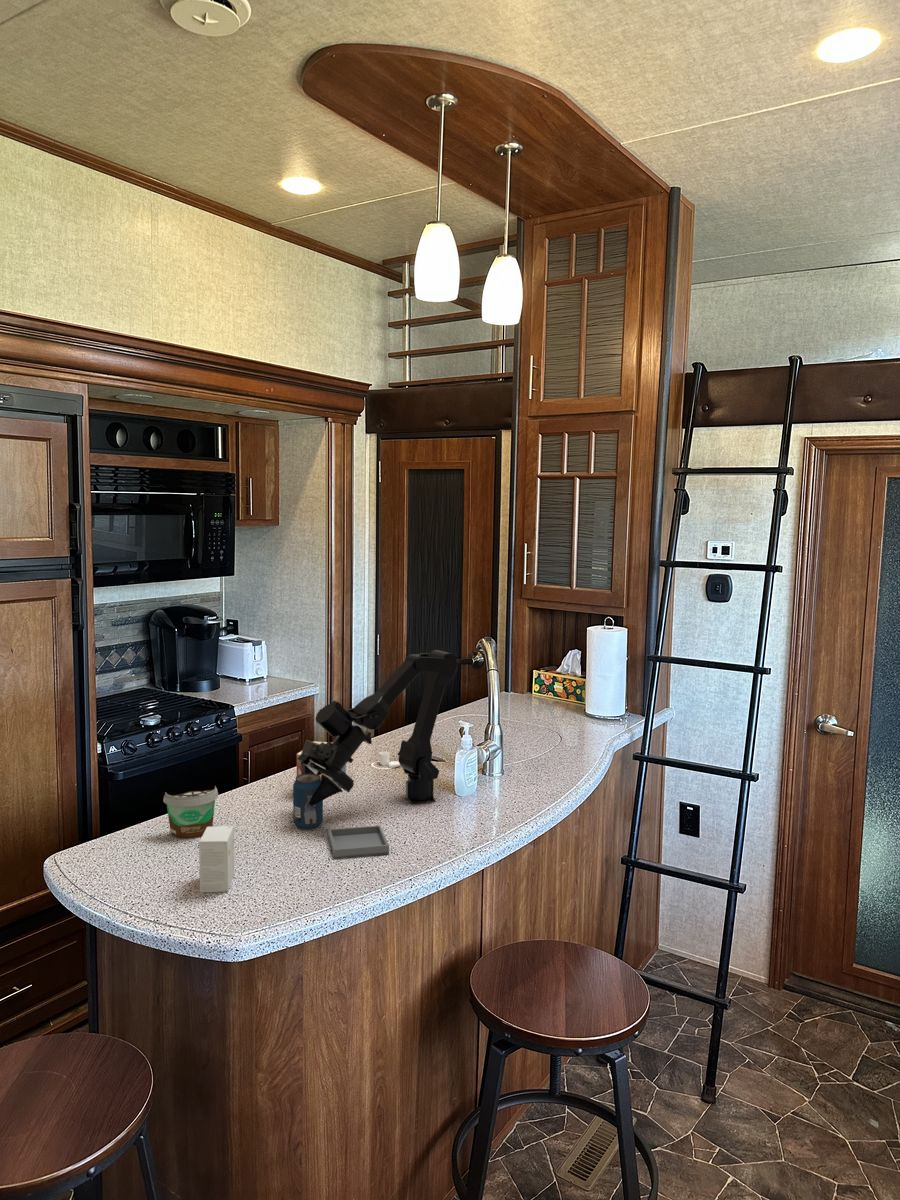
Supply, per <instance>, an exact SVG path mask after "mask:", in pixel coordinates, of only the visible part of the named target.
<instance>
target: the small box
mask: <svg viewBox="0 0 900 1200" xmlns="http://www.w3.org/2000/svg"><path fill="white" fill-rule="evenodd" d="M199 839H200V840H199V842H198V855H199V856H198V857H199V892H200V893H227V892H229V889H230V887H231V884H232V882H233V879H234V876H235V868H236V867H235V864H236V863H235V826H233V825H232V826H231V825H230V826H228V825H227V826H226V825H225V826H222V825H221V826H213V827H207V828H206V830H205V832H204V834H203V835H202V837H200V838H199Z"/></svg>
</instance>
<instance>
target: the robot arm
mask: <svg viewBox="0 0 900 1200" xmlns="http://www.w3.org/2000/svg"><path fill="white" fill-rule="evenodd" d="M458 666H459V660H458V659H457V657H456V655H455V654H453V653H451V652H447V651H443V650H440V649H439V650H438V649H435V650H434V649H433V650H431V652H428V653H417V654H414V653H410V654H408V655H406V657H405V659H404V661H403V662H402V663H400V665H399V666H398V667H397V669H396V670H395V671H394V672H393V673H392V674H391V675H390V676H389V677H388V679H386V681H385V682H384V683H383V684H382V685H381V686H380V687H379V689H378V690H376V691H375V692H374V693H373V694H370V695H368V696H367V697H365V698H363V699H362V700H361V701H359V702H358V703H357V704H356V705H355V706H354V707H352V708H349V709H345V708H344V707H343V705H342V704H341V703H340V702H339V701H336V700H333V701H332V702H331V703H329V704H326V705H324V707H322V708H320V709H319V711H318V712H317V714H316V716H315V722H316V723H317V724H318V725H319V726H320V727H321V728H323V729H324V730H325V732H327V733H328V734H329V735H330V736H331V737H335V739H334V740H333V741H332V742H331V741H328V742H327V743H326V744H325V743H323V742H324V741H321V742H322V743H321V744H318V743H315V742H316V741H315V742H314V741H312V740H309V739H306V740H305V743H304V746H303V748H302V749H301V751H302V754H301V755H300V756H299V757H298V760H299V761H300V762H301V763H300V765H301V767H302V774H317V775H320V774H322V773H323V774H324V775H323V774H322V775H321V778H320V779H321V784H320V785H319V787H318V788H317V790H316V792H315V793H314V795H313V796H312V798H311V799H310V801H309V805H311V806H313V805H315V804H317V803H319V802H321V801H322V800H323V801H325V800H326V799H327V798H330V797H332V796H334V795H337V794H338V793H343V792H344V791H346V792H347V793H350V792H351V790H352V789H353V788H354V784H355V781H354V779H352V777H350V775H348V774H347V772H346V773H345V772H344V771H343V770H342V768H343V767H344V766H345V765H347V763H350V764H352V763H353V761H354V759H353V758H352V757H353V755H354V754H355V753H356V752H357V751H358V749H359V748H360V746H361V745H362V744H363V742H364V743H366V744H368V745H372V743H373V741H372V732H369V731H368V730H377V729H379V728H380V727H381V726H382V725H383V723H385V720H386V719H387V717H388V715H389V714H390V713H389V712H390V708H391V706H392V705H393V704H394V702H395V701H396V700H397V698H399V696H400V695H401V694H402V693H403V692H404V691H405V690H406V688H408V686H409V685H410V684H411V682H413V681H414V679H415V678H416V677H417V676H418V675H419V674H420V672H424V675H425V681H426V682H425V687H424V691H423V695H422V697H421V702H420V705H419V709H418V713H417V716H416V719H415V723H414V727H413V730H412V734H411V736H410V737H409V738H408V740H407V741H406V740H404V739H403V740H402V741H401V743H400V748H399V751H398V753H397V756H398V761H399V763H400V767H401V768H402V770H403V773H404V774H406V775H407V780H406V781H405V796H406V798H407V800H408V801H409V803H410V804H420V803H421V804H422V803H423V804H424V803H434V802H436V799H435V797H434V790H435V789H434V780H436V779H438V777H439V774H440V770H439V769H438V767H436V766H435V764H433V763H432V759H433V749H432V744H431V739H432V735H433V731H434V728H435V725H436V720H437V717H438V713H439V710H440V706H441V703H442V699H443V695H444V691H445V689H446V686H448V684H449V683H450V682H451V681H452V680H453V679H454V676H455V674H456V672H457V669H458ZM354 724H357V725H354ZM361 727H363V728H366V729H368V730H365V731H364V730H363V729H362V728H361ZM325 775H326V776H328V777H326V776H325Z"/></svg>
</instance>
